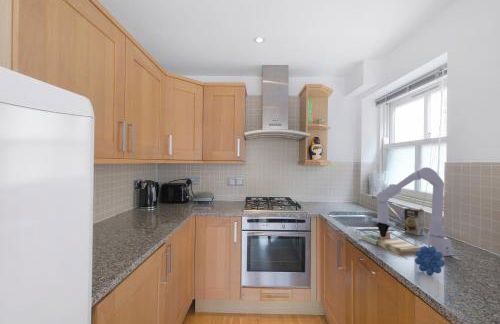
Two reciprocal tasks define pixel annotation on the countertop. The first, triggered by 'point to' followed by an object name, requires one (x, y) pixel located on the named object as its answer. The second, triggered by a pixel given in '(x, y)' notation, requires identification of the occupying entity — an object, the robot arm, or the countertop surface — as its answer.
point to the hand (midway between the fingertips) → (383, 236)
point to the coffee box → (414, 221)
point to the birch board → (398, 246)
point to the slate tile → (375, 236)
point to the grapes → (429, 260)
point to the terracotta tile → (385, 236)
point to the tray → (368, 238)
